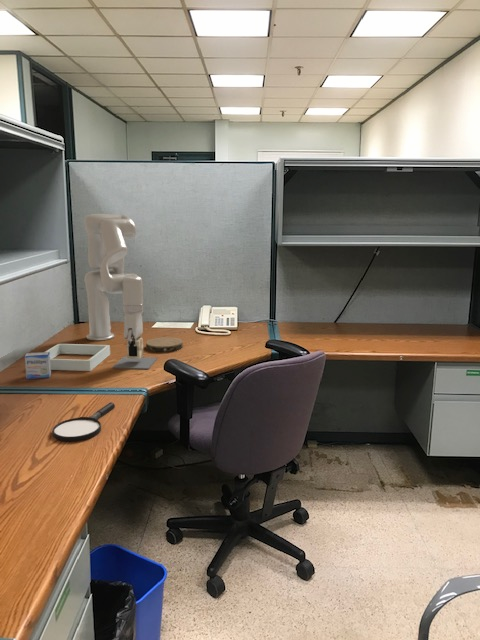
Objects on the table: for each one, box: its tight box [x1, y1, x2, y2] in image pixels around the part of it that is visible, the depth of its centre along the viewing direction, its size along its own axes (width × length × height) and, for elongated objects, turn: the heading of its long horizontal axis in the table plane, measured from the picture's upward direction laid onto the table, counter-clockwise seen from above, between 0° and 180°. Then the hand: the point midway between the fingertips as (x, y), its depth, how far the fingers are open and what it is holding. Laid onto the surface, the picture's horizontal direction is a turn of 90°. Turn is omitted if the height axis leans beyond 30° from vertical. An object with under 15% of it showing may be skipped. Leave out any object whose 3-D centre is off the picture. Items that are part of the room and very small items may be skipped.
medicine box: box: [24, 351, 52, 380], centre depth 176 cm, size 8×4×9 cm, turn 105°
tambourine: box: [145, 336, 184, 354], centre depth 215 cm, size 16×16×3 cm
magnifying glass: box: [52, 401, 116, 443], centre depth 138 cm, size 12×24×2 cm, turn 163°
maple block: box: [126, 337, 144, 359], centre depth 191 cm, size 5×5×7 cm
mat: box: [111, 356, 158, 370], centre depth 193 cm, size 14×14×1 cm
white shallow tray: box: [44, 343, 111, 372], centre depth 194 cm, size 22×22×4 cm
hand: (135, 353), depth 192 cm, fingers closed on maple block, 5 cm apart
